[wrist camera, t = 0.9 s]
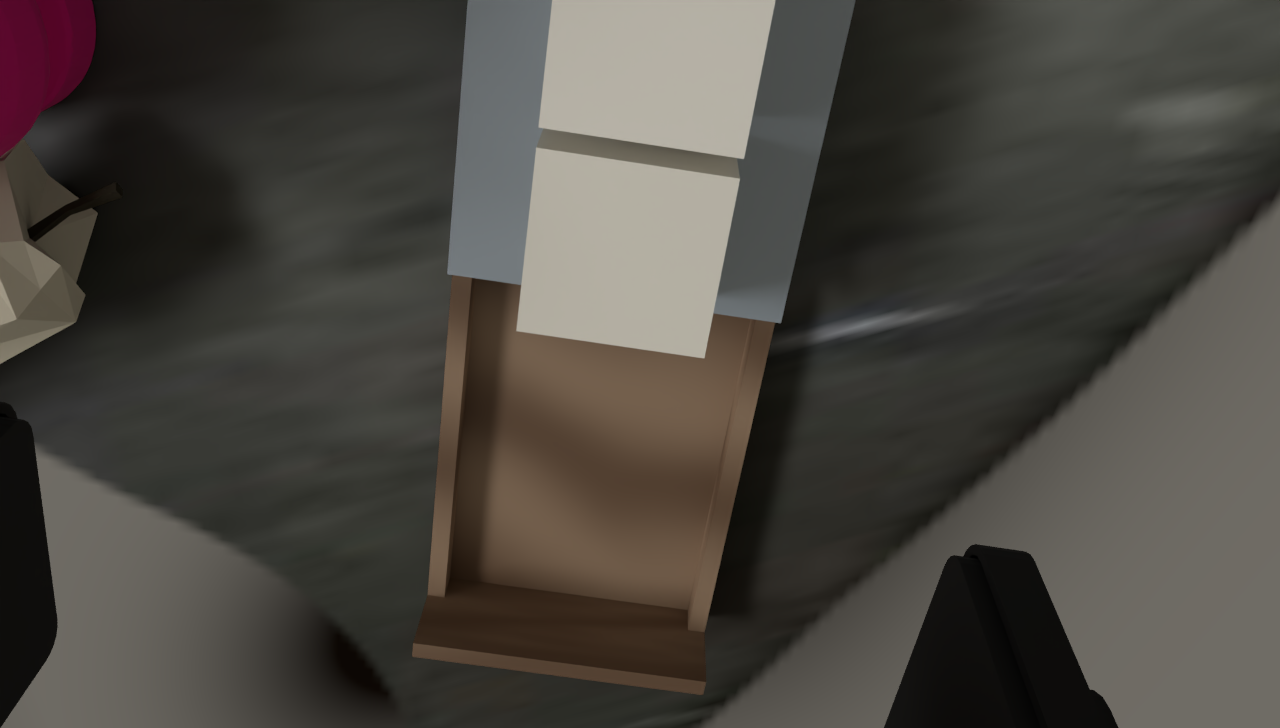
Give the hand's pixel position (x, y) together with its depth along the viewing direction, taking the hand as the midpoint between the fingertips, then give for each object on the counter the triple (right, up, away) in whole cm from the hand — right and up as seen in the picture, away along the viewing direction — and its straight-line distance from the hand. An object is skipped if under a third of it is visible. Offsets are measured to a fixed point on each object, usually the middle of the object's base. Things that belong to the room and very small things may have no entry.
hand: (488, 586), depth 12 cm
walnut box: (0, -1, +27) cm, 27 cm away
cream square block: (+1, +7, +20) cm, 21 cm away
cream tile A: (+2, +12, +18) cm, 21 cm away
